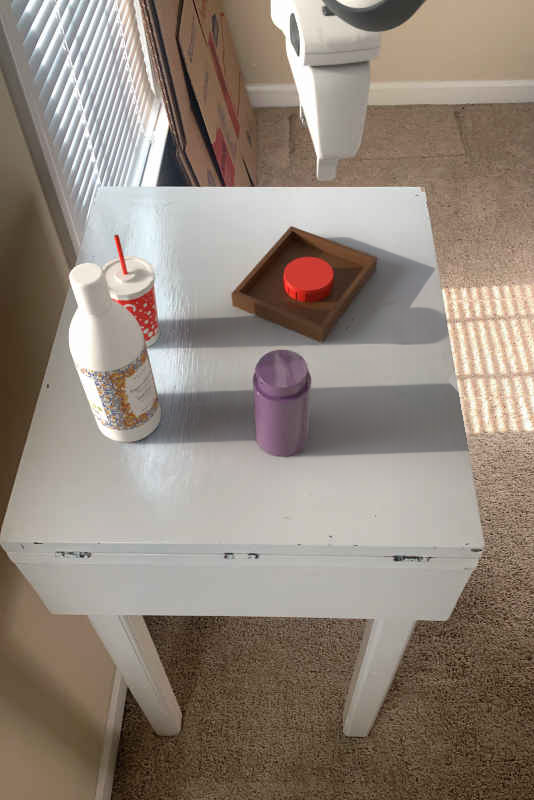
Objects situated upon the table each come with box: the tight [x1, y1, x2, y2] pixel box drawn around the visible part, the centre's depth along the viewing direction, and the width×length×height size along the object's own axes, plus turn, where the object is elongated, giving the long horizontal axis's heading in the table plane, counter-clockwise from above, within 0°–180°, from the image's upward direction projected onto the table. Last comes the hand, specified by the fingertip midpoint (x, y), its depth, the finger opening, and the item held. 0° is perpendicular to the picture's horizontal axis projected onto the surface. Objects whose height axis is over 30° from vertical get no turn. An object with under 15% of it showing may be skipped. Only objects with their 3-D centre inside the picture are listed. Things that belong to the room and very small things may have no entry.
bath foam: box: [68, 262, 162, 443], centre depth 66 cm, size 7×7×20 cm
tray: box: [231, 225, 378, 344], centre depth 84 cm, size 14×12×2 cm
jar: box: [252, 349, 312, 458], centre depth 68 cm, size 6×6×11 cm
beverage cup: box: [101, 234, 161, 348], centre depth 75 cm, size 6×6×14 cm
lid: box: [283, 257, 334, 302], centre depth 84 cm, size 6×6×2 cm
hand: (317, 149), depth 69 cm, fingers open, 8 cm apart
